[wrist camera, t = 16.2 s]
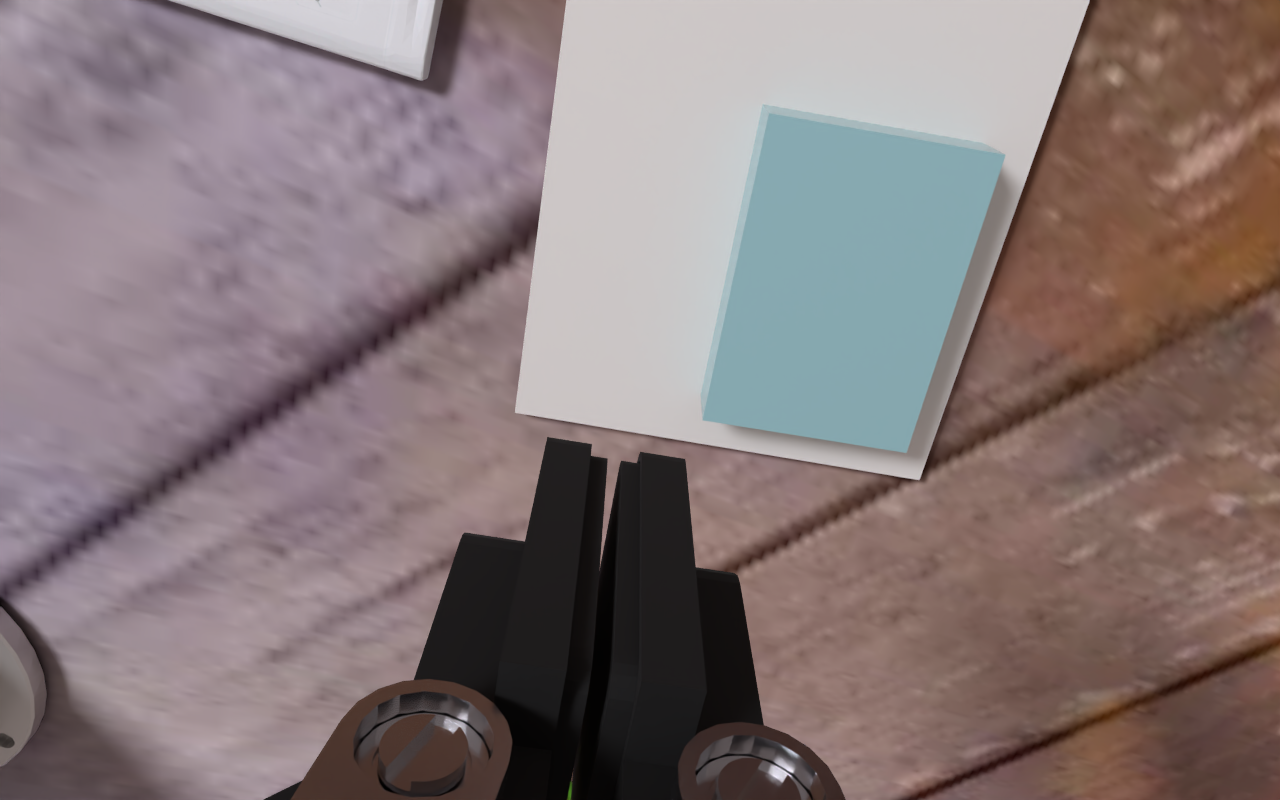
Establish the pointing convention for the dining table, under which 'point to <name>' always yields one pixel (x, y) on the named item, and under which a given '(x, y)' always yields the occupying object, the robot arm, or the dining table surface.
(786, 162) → the tile
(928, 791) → the dining table surface
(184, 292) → the dining table surface
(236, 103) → the dining table surface
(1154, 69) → the dining table surface
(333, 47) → the external hard drive
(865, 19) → the mat
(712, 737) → the robot arm
